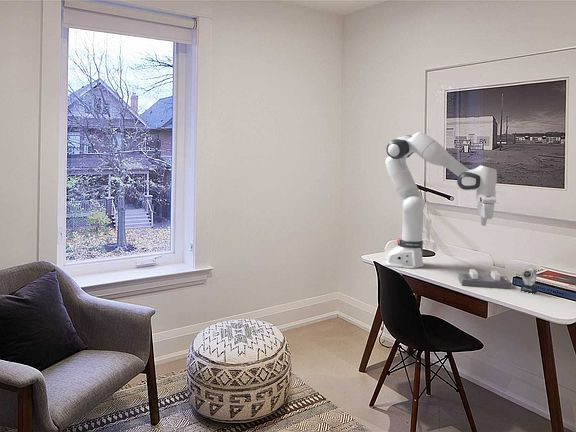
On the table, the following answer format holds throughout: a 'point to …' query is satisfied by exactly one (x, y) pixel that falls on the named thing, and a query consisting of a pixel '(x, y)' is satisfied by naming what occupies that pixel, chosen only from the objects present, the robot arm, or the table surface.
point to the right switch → (495, 275)
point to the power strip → (484, 281)
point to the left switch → (473, 274)
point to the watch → (529, 281)
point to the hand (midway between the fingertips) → (483, 225)
